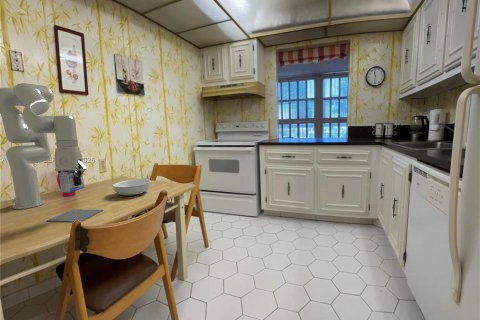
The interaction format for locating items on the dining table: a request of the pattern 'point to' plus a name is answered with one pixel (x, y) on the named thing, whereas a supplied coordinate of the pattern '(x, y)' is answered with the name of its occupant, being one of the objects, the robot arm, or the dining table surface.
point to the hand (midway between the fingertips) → (72, 184)
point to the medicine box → (69, 182)
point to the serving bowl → (131, 187)
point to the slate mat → (74, 215)
